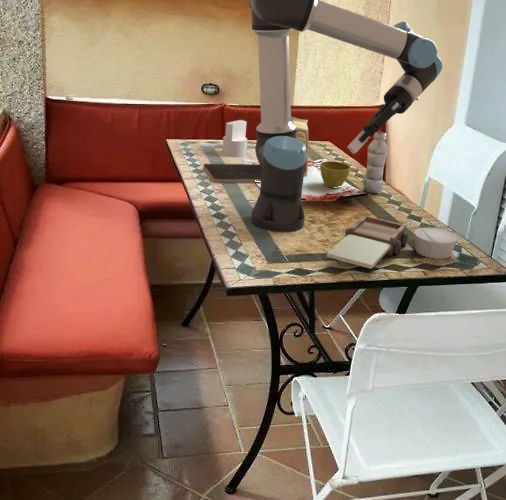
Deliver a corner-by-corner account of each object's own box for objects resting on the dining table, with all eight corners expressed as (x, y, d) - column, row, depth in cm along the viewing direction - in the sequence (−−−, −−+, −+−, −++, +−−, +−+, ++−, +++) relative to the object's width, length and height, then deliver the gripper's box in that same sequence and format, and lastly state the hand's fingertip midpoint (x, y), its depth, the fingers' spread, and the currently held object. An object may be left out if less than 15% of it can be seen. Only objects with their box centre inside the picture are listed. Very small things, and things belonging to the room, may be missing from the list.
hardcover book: (280, 184, 235) (281, 177, 234) (213, 184, 228) (214, 177, 228) (267, 170, 249) (268, 163, 248) (203, 169, 243) (204, 163, 242)
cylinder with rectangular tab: (231, 149, 269) (234, 118, 264) (250, 154, 264) (253, 123, 259) (217, 153, 262) (219, 121, 257) (236, 158, 257) (239, 126, 252)
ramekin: (402, 250, 189) (406, 232, 187) (425, 241, 196) (429, 224, 194) (439, 265, 181) (442, 246, 179) (461, 255, 189) (465, 237, 187)
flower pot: (333, 192, 230) (336, 171, 227) (311, 183, 237) (314, 163, 234) (353, 188, 236) (356, 167, 233) (331, 179, 243) (334, 159, 240)
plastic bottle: (381, 196, 230) (391, 136, 223) (360, 193, 231) (369, 133, 224) (381, 190, 236) (391, 132, 228) (361, 187, 237) (370, 129, 230)
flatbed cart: (358, 230, 199) (360, 214, 197) (407, 243, 193) (410, 226, 192) (341, 245, 188) (344, 227, 186) (393, 258, 182) (397, 240, 180)
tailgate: (349, 233, 186) (327, 253, 173) (391, 244, 182) (372, 265, 168) (348, 238, 187) (326, 257, 173) (390, 249, 182) (371, 270, 169)
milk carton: (287, 177, 241) (293, 119, 233) (274, 169, 248) (279, 113, 240) (309, 176, 245) (316, 119, 237) (296, 168, 252) (302, 113, 244)
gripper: (423, 96, 192) (371, 153, 184) (399, 112, 204) (350, 166, 197) (404, 76, 191) (352, 132, 184) (382, 93, 203) (332, 147, 196)
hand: (351, 150), depth 190 cm, fingers closed
